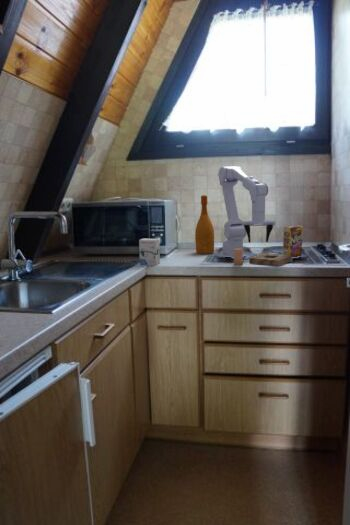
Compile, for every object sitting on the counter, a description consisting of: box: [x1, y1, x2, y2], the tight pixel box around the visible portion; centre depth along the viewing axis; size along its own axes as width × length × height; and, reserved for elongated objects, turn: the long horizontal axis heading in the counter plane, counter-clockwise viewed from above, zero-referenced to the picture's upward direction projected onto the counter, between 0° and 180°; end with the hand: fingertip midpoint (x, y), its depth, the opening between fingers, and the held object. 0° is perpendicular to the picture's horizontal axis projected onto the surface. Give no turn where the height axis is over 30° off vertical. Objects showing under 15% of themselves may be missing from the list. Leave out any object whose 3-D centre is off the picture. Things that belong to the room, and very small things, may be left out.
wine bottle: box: [194, 194, 215, 255], centre depth 221 cm, size 10×10×30 cm
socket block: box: [248, 252, 292, 267], centre depth 194 cm, size 14×14×2 cm
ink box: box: [138, 237, 161, 266], centre depth 198 cm, size 9×5×12 cm, turn 71°
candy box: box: [282, 225, 304, 258], centre depth 200 cm, size 9×4×15 cm, turn 123°
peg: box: [233, 248, 244, 266], centre depth 191 cm, size 4×4×7 cm
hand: (258, 242), depth 190 cm, fingers open, 7 cm apart
